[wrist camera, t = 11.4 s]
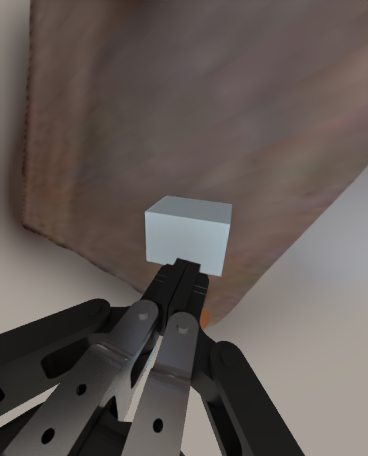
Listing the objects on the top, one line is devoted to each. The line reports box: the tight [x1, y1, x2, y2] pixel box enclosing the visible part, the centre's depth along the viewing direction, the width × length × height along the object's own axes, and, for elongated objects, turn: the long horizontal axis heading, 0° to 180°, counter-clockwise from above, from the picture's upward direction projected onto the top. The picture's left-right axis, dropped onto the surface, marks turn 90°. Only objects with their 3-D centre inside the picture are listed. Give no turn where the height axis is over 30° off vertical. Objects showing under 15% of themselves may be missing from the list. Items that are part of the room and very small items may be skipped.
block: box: [144, 196, 232, 276], centre depth 37 cm, size 15×10×10 cm
